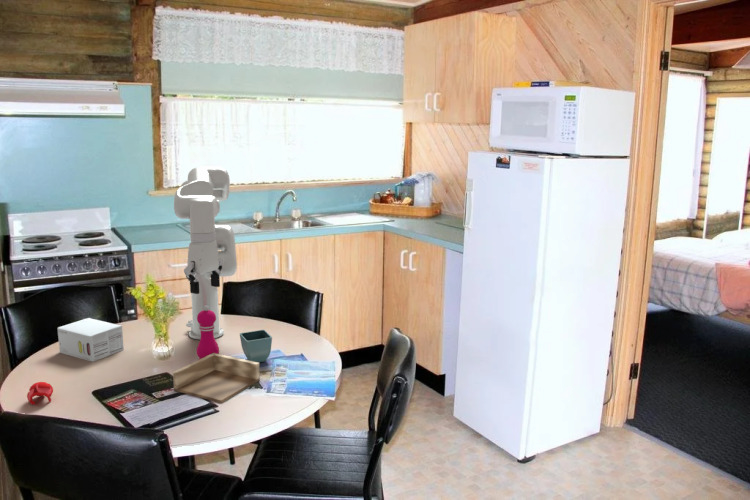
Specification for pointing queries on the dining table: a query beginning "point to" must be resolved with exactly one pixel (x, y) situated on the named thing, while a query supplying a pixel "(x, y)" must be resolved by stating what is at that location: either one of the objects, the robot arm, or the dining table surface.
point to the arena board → (217, 386)
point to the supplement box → (90, 339)
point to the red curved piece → (40, 391)
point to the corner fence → (215, 368)
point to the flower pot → (256, 345)
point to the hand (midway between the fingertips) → (205, 289)
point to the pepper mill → (206, 333)
